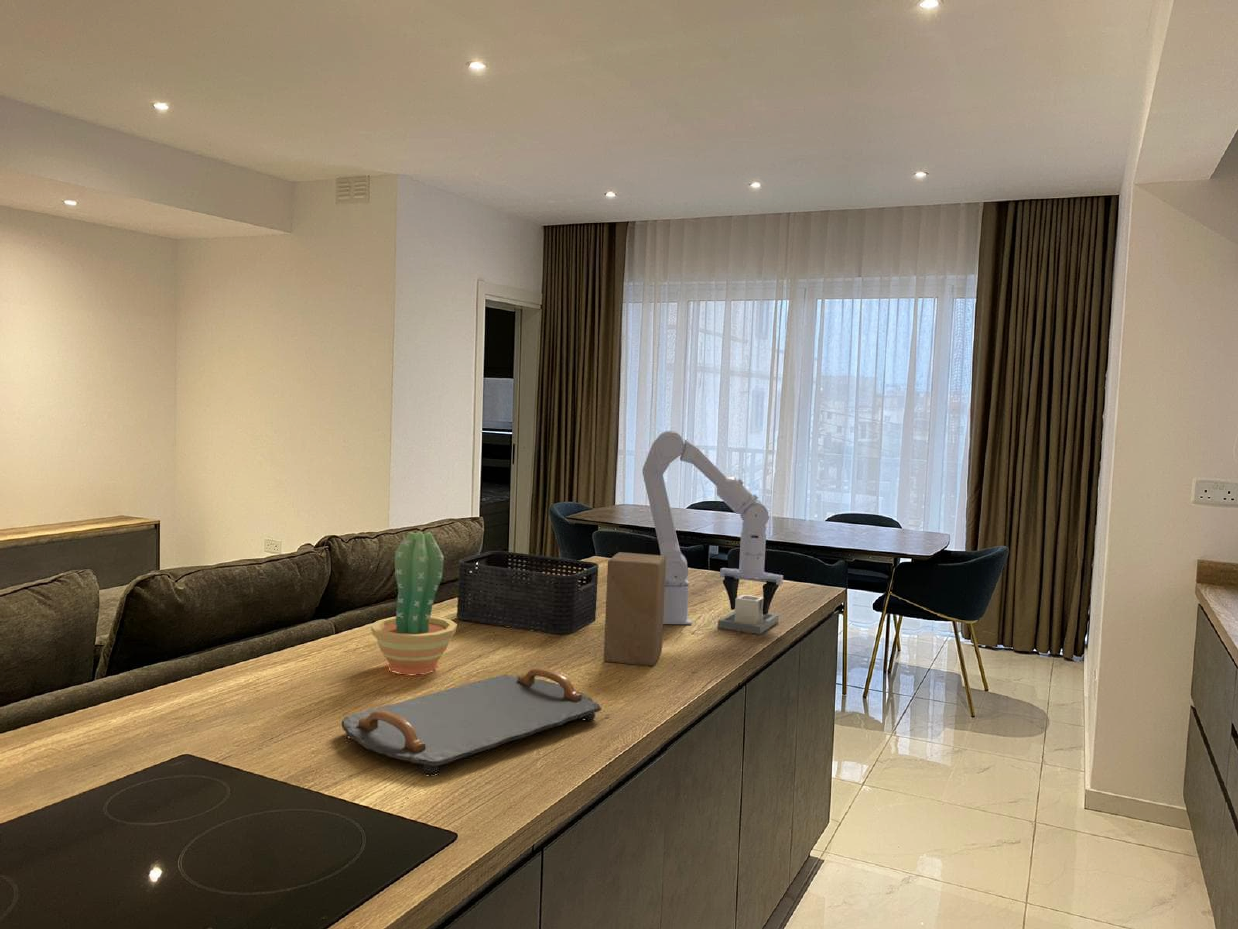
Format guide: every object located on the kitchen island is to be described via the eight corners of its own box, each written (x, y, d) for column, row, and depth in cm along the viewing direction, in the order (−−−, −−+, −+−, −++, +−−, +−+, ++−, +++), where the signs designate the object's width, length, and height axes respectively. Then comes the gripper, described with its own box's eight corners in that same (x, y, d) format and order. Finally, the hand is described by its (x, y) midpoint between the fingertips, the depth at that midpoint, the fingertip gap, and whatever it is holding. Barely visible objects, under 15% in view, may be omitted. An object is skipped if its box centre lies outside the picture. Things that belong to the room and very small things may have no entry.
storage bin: (600, 618, 211) (603, 561, 210) (567, 637, 193) (570, 575, 192) (491, 604, 221) (493, 549, 220) (450, 620, 203) (452, 561, 202)
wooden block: (653, 667, 174) (658, 563, 172) (602, 662, 175) (607, 559, 174) (661, 653, 183) (666, 555, 182) (613, 648, 185) (617, 551, 184)
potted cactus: (469, 662, 172) (474, 530, 170) (431, 685, 157) (436, 542, 155) (396, 652, 176) (400, 524, 174) (352, 674, 161) (356, 534, 159)
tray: (760, 634, 202) (760, 626, 202) (717, 628, 206) (718, 620, 206) (778, 622, 214) (778, 614, 214) (737, 616, 219) (738, 608, 219)
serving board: (517, 686, 160) (519, 651, 160) (616, 720, 145) (618, 682, 145) (320, 742, 131) (321, 700, 130) (418, 792, 116) (419, 744, 115)
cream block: (755, 627, 206) (757, 601, 206) (734, 624, 209) (735, 598, 208) (762, 623, 211) (764, 597, 211) (741, 619, 213) (742, 594, 213)
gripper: (716, 551, 209) (713, 610, 210) (778, 559, 202) (774, 619, 203) (727, 548, 215) (724, 604, 216) (786, 555, 209) (783, 613, 210)
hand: (749, 611), depth 210 cm, fingers open, 7 cm apart
